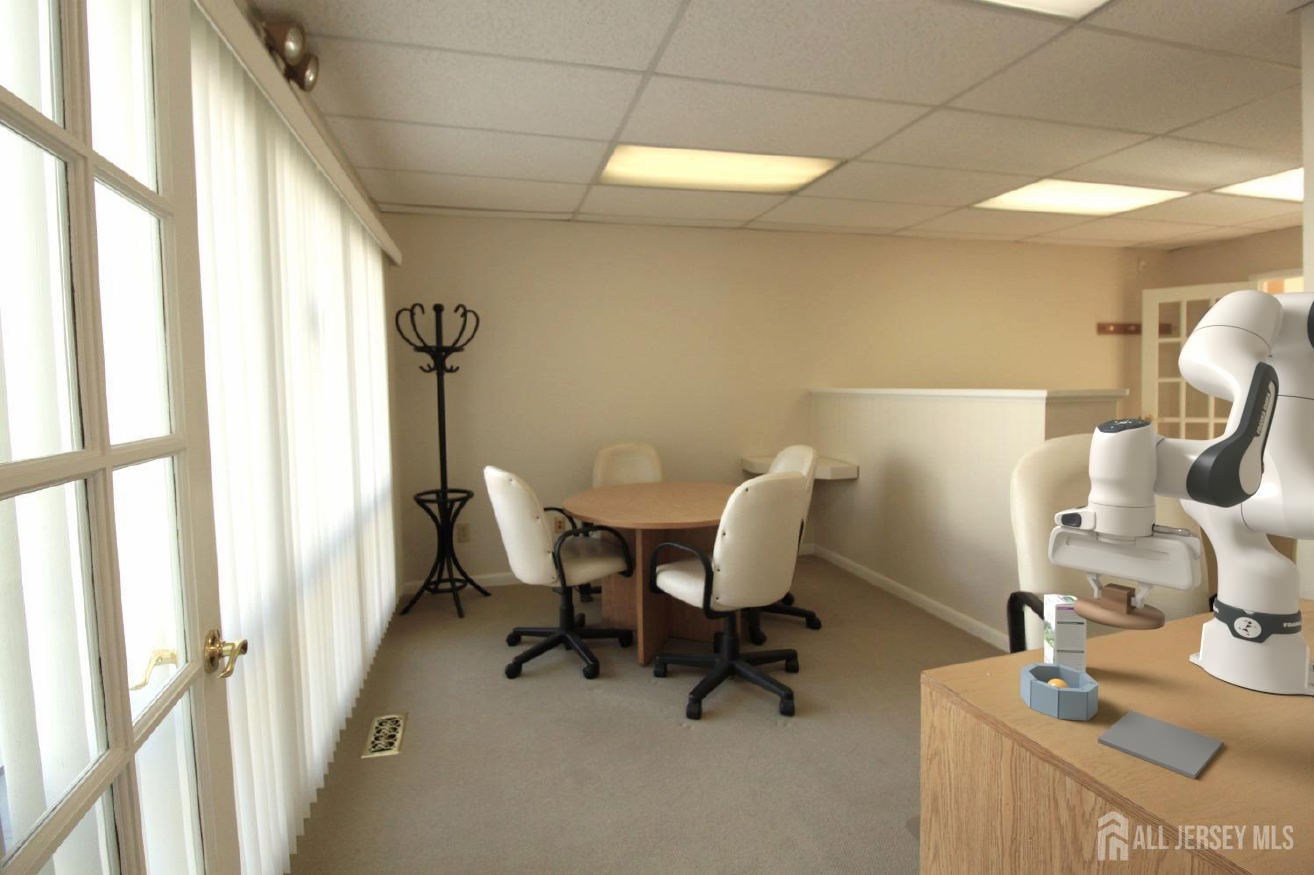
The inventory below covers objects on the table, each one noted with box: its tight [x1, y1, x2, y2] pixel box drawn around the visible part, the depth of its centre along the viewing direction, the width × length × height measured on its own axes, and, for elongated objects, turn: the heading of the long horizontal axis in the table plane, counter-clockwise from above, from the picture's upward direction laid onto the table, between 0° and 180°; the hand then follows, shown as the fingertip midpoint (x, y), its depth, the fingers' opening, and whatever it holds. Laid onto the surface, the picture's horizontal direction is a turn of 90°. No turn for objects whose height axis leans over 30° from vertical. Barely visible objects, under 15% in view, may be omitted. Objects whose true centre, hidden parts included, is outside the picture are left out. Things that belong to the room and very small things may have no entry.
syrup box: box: [1042, 593, 1087, 673], centre depth 124 cm, size 6×6×14 cm
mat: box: [1097, 710, 1224, 780], centre depth 99 cm, size 14×12×1 cm
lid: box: [1074, 582, 1166, 631], centre depth 102 cm, size 12×12×5 cm
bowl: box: [1019, 662, 1100, 721], centre depth 111 cm, size 11×11×5 cm
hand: (1118, 603), depth 102 cm, fingers closed on lid, 3 cm apart
